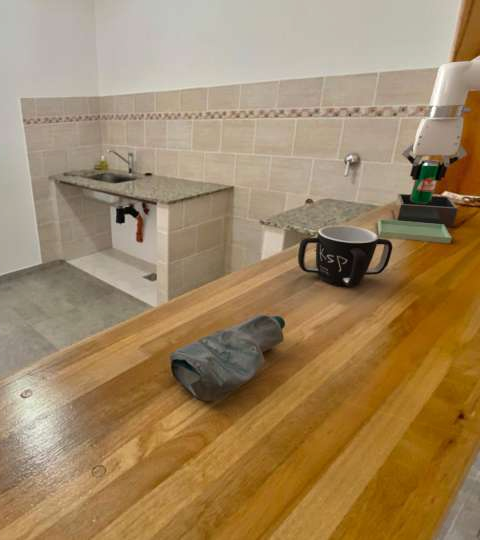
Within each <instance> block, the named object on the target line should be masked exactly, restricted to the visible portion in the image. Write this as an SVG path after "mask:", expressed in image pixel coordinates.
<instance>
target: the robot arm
mask: <svg viewBox="0 0 480 540" xmlns="http://www.w3.org/2000/svg"><path fill="white" fill-rule="evenodd" d="M432 89H433V90H432V93H431V97H430V101H429V105H428V109H427V111H426V112H427V113H426V117H424V118H423V117H422V119H421V120H420V122H419V124H418V127H417V130H416V133H415V136H414V139H413V142H412V143H411V144H410V145H409V146H407V147H406V148H405V149H403V150H402V151H401V156H402V157H404V158H405V159H406V160H408V162H409V163H410V164H411V165H412V166H411V170H410V174H409V177H411V179H412V181H415V180H416V178H417V174H418V170H419V164H420V163H421V161H422V160H423V159H422V158H424V157H441V163H440V164H441V167H440V171H439V174H438V178H437V181H438V182H441V181H442V179H445V177H446V172H447V170H448V167H450V166H451V165H453V164H454V163H456V162H458V160H461V159H463V158H465V157H466V156H467V155H468V153H467V151H466V150H465V148H464V147H463V145H462V144H461V140H462V134H463V130H464V117H462V116H463V115H464V114H469V113H470V112H471V107H466V105H465V104H466V101H467V98H468V95H469V92H475V91H477V92H480V55H478V56H476V57H475V58H473V59H472V60H470V61H469V60H465V61H451V62H445V63H443V64H442V65H440V66H439V68H438V71H437V73H436V76H435V82H434V85H433V88H432ZM410 153H412V154H413V155H414V156H412V154H410ZM437 181H436V182H437Z"/></svg>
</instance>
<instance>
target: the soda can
mask: <svg viewBox="0 0 480 540" xmlns="http://www.w3.org/2000/svg"><path fill="white" fill-rule="evenodd" d="M441 164H442V163H441V160H437V159H421V161H420V162H419V170H418V174H417V178H416V180H414V181H413V186H412V189H411V193H410V194H411V197H410V200H411V201H412V202H414V203H421V204H425V203H429V202H430V201H431V199H432V196H434V191H435V188H436V184H437V178H438V174H439V171H440V167H441Z"/></svg>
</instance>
